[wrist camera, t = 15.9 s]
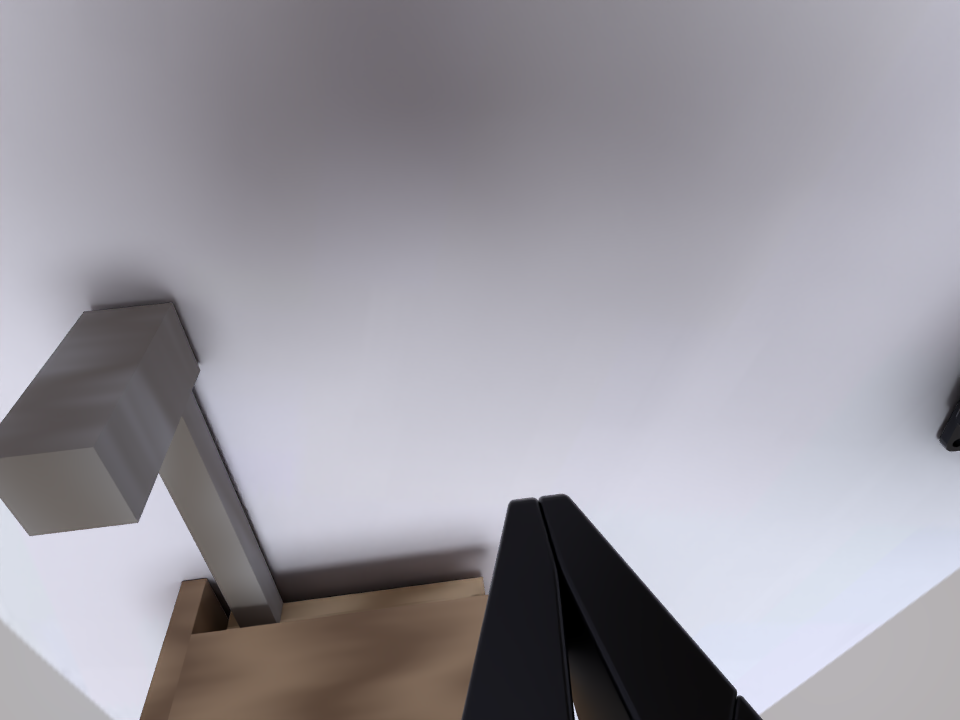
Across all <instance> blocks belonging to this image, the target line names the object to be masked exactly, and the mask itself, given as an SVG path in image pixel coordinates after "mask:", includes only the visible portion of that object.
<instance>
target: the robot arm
mask: <svg viewBox="0 0 960 720" xmlns="http://www.w3.org/2000/svg"><path fill="white" fill-rule="evenodd" d="M939 441H940V443H941V444H942V445H943V446H944V447H945V448H946V449H947V450H948V451H960V400H959V402H958V404H957V406H956V408H955V410H954V412H953V414H952V416H951V418H950V419H949V421H948V423H947V425H946V427H945V429H944V431H943V433H942V435H941V437H940V440H939ZM573 703H574V706H575V709H576V713H577V716H578V719H579V720H762V718H761V717H760V716H759V715H758V714H757V713H756V711H755V710H754V709H753V708H752V707H751V706H750V704H749V703H748V702H747V701H746V700H745V699H744V697H742V696H737V690H736V689H735V687H734V686H733V685H732V684H731V683H730V682H729V681H728V679H727V678H726V677H725V676H724V675H723V674H722V672H721V671H720V670H719V669H718V668H717V667H716V666H715V664H714V663H713V662H712V661H711V660H710V659H709V658H708V656H707V655H706V654H705V653H704V652H703V651H702V649H701V648H700V647H699V646H698V645H697V644H696V643H695V641H694V640H693V639H692V638H691V637H690V636H689V634H688V633H687V632H686V631H685V630H684V629H683V628H682V626H681V625H680V624H679V623H678V622H677V621H676V619H675V618H674V617H673V616H672V615H671V614H670V613H669V611H668V610H667V609H666V608H665V607H664V606H663V604H662V603H661V602H660V601H659V600H658V599H657V598H656V596H655V595H654V594H653V593H652V592H651V591H650V589H649V588H648V587H647V586H646V585H645V584H644V583H643V581H642V580H641V579H640V578H639V577H638V576H637V574H636V573H635V572H634V571H633V570H632V569H631V568H630V566H629V565H628V564H627V563H626V562H625V561H624V559H623V558H622V557H621V556H620V555H619V554H618V553H617V551H616V550H615V549H614V548H613V547H612V546H611V544H610V543H609V542H608V541H607V540H606V539H605V538H604V536H603V535H602V534H601V533H600V532H599V531H598V529H597V528H596V527H595V526H594V525H593V524H592V523H591V521H590V520H589V519H588V518H587V517H586V516H585V515H584V513H583V512H582V511H581V510H580V509H579V508H578V506H577V505H576V504H575V503H574V502H573V501H572V500H571V498H570V497H569V496H567V495H565V494H556V495H548V496H542V497H540V498H539V500H537V499H536V498H524V499H516V500H512V501H510V503H509V505H508V508H507V513H506V518H505V522H504V527H503V531H502V536H501V540H500V545H499V550H498V554H497V559H496V563H495V568H494V572H493V577H492V581H491V586H490V591H489V595H488V600H487V604H486V609H485V613H484V618H483V623H482V627H481V632H480V636H479V641H478V645H477V650H476V655H475V659H474V664H473V668H472V673H471V677H470V682H469V687H468V691H467V696H466V700H465V705H464V709H463V714H462V718H461V720H575V717H574V707H573Z"/></svg>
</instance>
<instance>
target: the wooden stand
mask: <svg viewBox="0 0 960 720" xmlns="http://www.w3.org/2000/svg"><path fill="white" fill-rule="evenodd" d="M487 600H488V595H482V596H475V597H468V598H460V599H453V600H445V601H438V602H430V603H423V604H415V605H408V606H401V607H393V608H386V609H378V610H371V611H363V612H356V613H348V614H341V615H333V616H326V617H319V618H311V619H304V620H296V621H289V622H281V623H274V624H266V625H259V626H252V627H244V628H237V629H229V630H227V626H228V621H229V619H228V617H227V615H226V614H225V612H224V610H223V608H222V606H221V604H220V602H219V601H218V599H217V597H216V595H215V593H214V591H213V589H212V587H211V586H210V584H209V582H208V580H207V578H205V579H198V580H190V581H182V584H181V587H180V590H179V594H178V597H177V600H176V603H175V606H174V610H173V613H172V616H171V619H170V623H169V626H168V629H167V632H166V636H165V639H164V642H163V645H162V649H161V652H160V655H159V658H158V662H157V665H156V668H155V671H154V675H153V678H152V681H151V684H150V688H149V691H148V694H147V697H146V700H145V704H144V707H143V710H142V713H141V717H140V720H461V718H462V714H463V709H464V705H465V700H466V696H467V691H468V687H469V682H470V677H471V673H472V668H473V664H474V659H475V655H476V650H477V645H478V641H479V636H480V632H481V627H482V623H483V618H484V613H485V609H486V604H487Z"/></svg>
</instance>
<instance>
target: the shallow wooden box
mask: <svg viewBox="0 0 960 720" xmlns="http://www.w3.org/2000/svg"><path fill="white" fill-rule="evenodd" d="M199 372H200V369H199V366H198V364H197V361H196V359H195V356H194V354H193V351H192V349H191V347H190V344H189V342H188V339H187V337H186V334H185V332H184V330H183V327H182V325H181V322H180V320H179V317H178V315H177V312H176V310H175V308H174V305H173V303H163V304H153V305H144V306H134V307H125V308H115V309H106V310H96V311H87V312H83V314H82V315H81V316H80V318H79V319H78V320H77V322H76V323H75V324H74V326H73V327H72V329H71V330H70V331H69V333H68V334H67V335H66V337H65V338H64V339H63V341H62V342H61V343H60V345H59V346H58V347H57V349H56V350H55V351H54V353H53V354H52V355H51V357H50V358H49V359H48V361H47V362H46V363H45V365H44V366H43V367H42V369H41V370H40V371H39V373H38V374H37V375H36V377H35V378H34V379H33V381H32V382H31V383H30V385H29V386H28V387H27V389H26V390H25V391H24V393H23V394H22V395H21V397H20V398H19V399H18V401H17V402H16V403H15V405H14V406H13V407H12V409H11V410H10V411H9V413H8V414H7V415H6V417H5V418H4V419H3V421H2V422H1V423H0V498H1V500H2V501H3V502H4V503H5V505H6V506H7V507H8V509H9V510H10V511H11V513H12V514H13V515H14V516H15V518H16V519H17V520H18V522H19V523H20V524H21V526H22V527H23V528H24V529H25V531H26V532H27V533H28V535H29V536H34V535H43V534H51V533H59V532H67V531H75V530H83V529H91V528H99V527H107V526H115V525H123V524H131V523H138V522H139V519H140V517H141V514H142V512H143V510H144V507H145V505H146V502H147V500H148V497H149V495H150V492H151V490H152V488H153V485H154V483H155V480H156V478H157V475H158V473H159V474H160V476H161V478H162V480H163V482H164V484H165V486H166V487H167V489H168V491H169V493H170V495H171V497H172V499H173V501H174V503H175V505H176V507H177V508H178V510H179V512H180V514H181V516H182V518H183V520H184V522H185V524H186V526H187V527H188V529H189V531H190V533H191V535H192V537H193V539H194V541H195V543H196V545H197V547H198V548H199V550H200V552H201V554H202V556H203V558H204V560H205V562H206V564H207V566H208V568H209V569H210V571H211V573H212V575H213V577H214V579H215V581H216V583H217V585H218V587H219V589H220V590H221V592H222V594H223V596H224V598H225V600H226V602H227V604H228V606H229V608H230V609H231V613H230V617H229V621H228V626H227V630H229V629H237V628H244V627H252V626H259V625H266V624H274V623H281V622H289V621H296V620H304V619H311V618H319V617H326V616H333V615H341V614H348V613H356V612H363V611H371V610H378V609H386V608H393V607H401V606H408V605H415V604H423V603H430V602H438V601H445V600H453V599H460V598H468V597H475V596H482V595H485V589H484V582H483V577H478V578H470V579H463V580H455V581H448V582H440V583H432V584H425V585H417V586H410V587H402V588H395V589H387V590H380V591H372V592H365V593H357V594H350V595H342V596H334V597H327V598H319V599H312V600H304V601H297V602H289V603H283V601H282V599H281V596H280V594H279V592H278V589H277V587H276V585H275V582H274V580H273V578H272V575H271V573H270V571H269V568H268V566H267V564H266V562H265V559H264V557H263V555H262V552H261V550H260V548H259V545H258V543H257V541H256V538H255V536H254V534H253V531H252V529H251V527H250V524H249V522H248V520H247V517H246V515H245V513H244V510H243V508H242V506H241V503H240V501H239V499H238V496H237V494H236V492H235V489H234V487H233V485H232V482H231V480H230V478H229V476H228V473H227V471H226V469H225V466H224V464H223V462H222V459H221V457H220V455H219V452H218V450H217V448H216V445H215V443H214V441H213V438H212V436H211V434H210V431H209V429H208V427H207V424H206V422H205V420H204V417H203V415H202V413H201V410H200V408H199V406H198V403H197V401H196V399H195V397H194V394H193V392H192V390H193V387H194V385H195V382H196V380H197V377H198V375H199Z"/></svg>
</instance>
